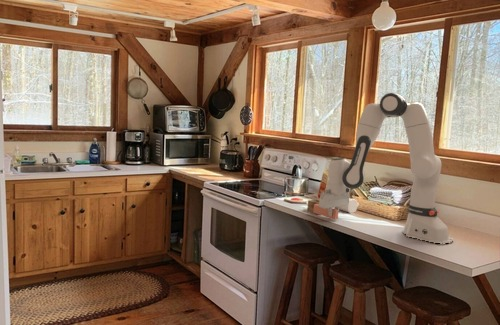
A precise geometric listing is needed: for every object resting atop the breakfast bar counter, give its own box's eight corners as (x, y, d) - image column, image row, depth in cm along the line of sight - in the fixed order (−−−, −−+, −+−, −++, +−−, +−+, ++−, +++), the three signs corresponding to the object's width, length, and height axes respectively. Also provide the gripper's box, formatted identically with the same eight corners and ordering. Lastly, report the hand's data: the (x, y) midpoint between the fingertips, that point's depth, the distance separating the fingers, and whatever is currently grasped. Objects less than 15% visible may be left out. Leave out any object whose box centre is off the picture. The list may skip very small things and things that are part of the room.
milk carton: (316, 198, 285) (319, 167, 282) (328, 197, 288) (331, 167, 286) (324, 201, 276) (327, 169, 274) (336, 201, 280) (339, 169, 278)
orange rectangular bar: (337, 218, 229) (338, 210, 229) (335, 219, 228) (335, 210, 227) (315, 212, 241) (316, 203, 240) (313, 212, 239) (313, 204, 239)
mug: (347, 213, 248) (348, 199, 247) (334, 209, 256) (335, 196, 255) (361, 212, 255) (363, 198, 253) (348, 208, 263) (350, 194, 261)
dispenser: (331, 213, 246) (332, 202, 245) (320, 215, 240) (321, 204, 239) (318, 209, 253) (318, 199, 252) (307, 211, 247) (308, 200, 247)
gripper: (326, 191, 220) (324, 218, 221) (352, 188, 233) (349, 214, 235) (317, 189, 224) (314, 216, 226) (342, 186, 238) (340, 211, 239)
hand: (332, 215), depth 230 cm, fingers closed on orange rectangular bar, 2 cm apart
